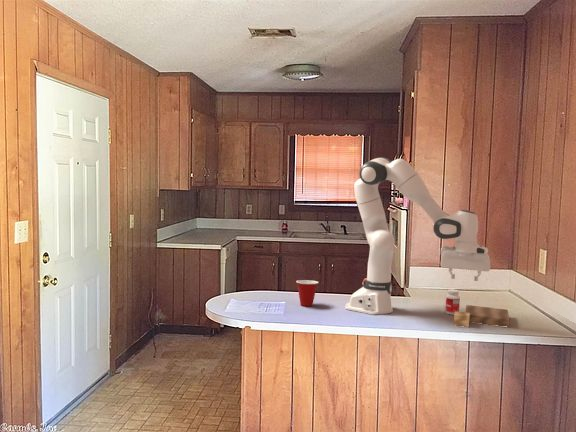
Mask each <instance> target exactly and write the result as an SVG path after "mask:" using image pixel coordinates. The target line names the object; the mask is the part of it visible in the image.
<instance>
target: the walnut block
mask: <svg viewBox="0 0 576 432" xmlns="http://www.w3.org/2000/svg"><path fill="white" fill-rule="evenodd" d="M464 312H466V313H470V316H469V322H474V323H473V324H475V323H482V324H481V325H483V324H488V325H487V326H491V325H498V326H507V327H509V328H510V315H509V311H508V309H505V308H497V307H487V306H478V305H470V304H469V305H468V304H466V307H465V311H464ZM498 326H497V327H498Z"/></svg>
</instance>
